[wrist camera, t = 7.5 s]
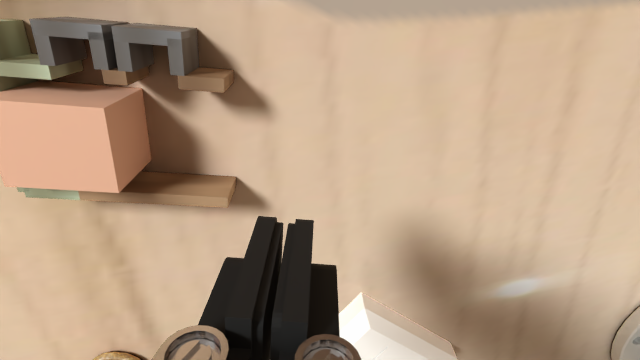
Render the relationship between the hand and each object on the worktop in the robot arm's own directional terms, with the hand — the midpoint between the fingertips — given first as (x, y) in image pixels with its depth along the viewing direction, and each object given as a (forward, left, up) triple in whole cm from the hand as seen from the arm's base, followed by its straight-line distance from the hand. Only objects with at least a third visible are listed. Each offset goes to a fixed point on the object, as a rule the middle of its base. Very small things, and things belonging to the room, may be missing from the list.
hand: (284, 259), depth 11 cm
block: (+10, -1, -10) cm, 15 cm away
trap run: (+8, -1, -10) cm, 13 cm away
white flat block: (-8, +15, -11) cm, 20 cm away
